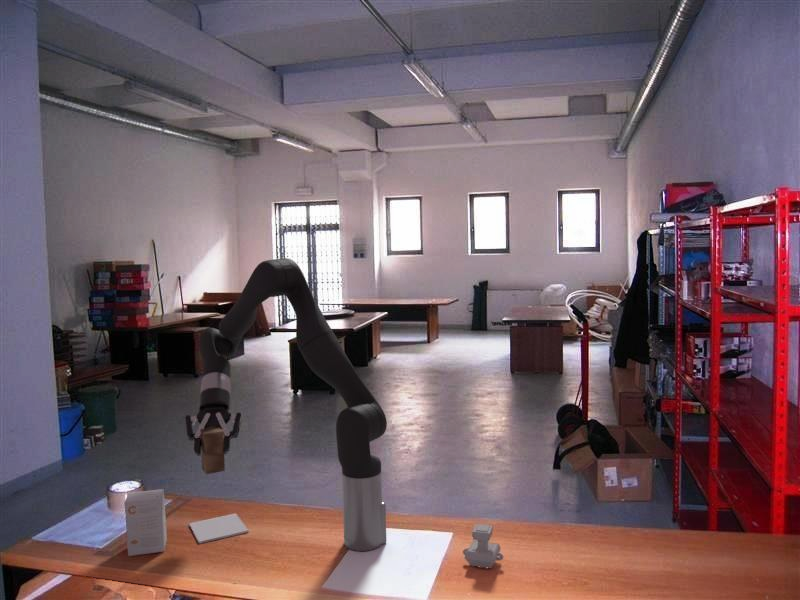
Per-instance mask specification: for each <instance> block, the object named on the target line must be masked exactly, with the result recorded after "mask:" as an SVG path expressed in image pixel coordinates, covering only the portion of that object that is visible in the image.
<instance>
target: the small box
mask: <svg viewBox="0 0 800 600" xmlns="http://www.w3.org/2000/svg"><path fill="white" fill-rule="evenodd" d="M165 504H166V503H165V490H164V488H159V489H151V490H143V491H133V492H128V494H127V496H126V498H125V501H124V514H125V515H124V516H125V528H126V529H125V530H126V533H125V534H126V543H127V544H126V545H127V556H128V557H131V556H132V557H133V556H140V555H141V556H142V555H146V554H147V555H148V554H154V553H162V552H165V549H166V546H167V545H166V544H167V540H168V539H167V522H166V521H167V518H166V505H165Z"/></svg>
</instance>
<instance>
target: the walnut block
mask: <svg viewBox="0 0 800 600" xmlns="http://www.w3.org/2000/svg"><path fill="white" fill-rule="evenodd" d="M200 432H201V454H200V456H201V470H202V471H203V472H204V473H205V475H210V474H216V473H221V472H225V471H226V469H225V465H226V463H225V454H224V452H223V444H224V435H223V431H222V430H221V429H220V428H219V427H214V428H207V429H201V430H200Z"/></svg>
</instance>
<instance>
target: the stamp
mask: <svg viewBox="0 0 800 600" xmlns="http://www.w3.org/2000/svg"><path fill="white" fill-rule="evenodd" d="M493 526H494V525H492V524H482V523H479V524H478V523H475V524H474V526H473V529H472V532H471V533H472V534H471V537H472V539H473V540H472V541H471V543H470V545H469V547H468V548H467V547H466V548H464V549H463V550H462V554H463V556H464V560H465V561H466V562H467V563H468V564H469V565H470V566H471V565H472V566H471V567H475V566H480V567H479V568H482V567H488V568H491V569H492V567H493V566H494V565H495V563H496V562H497V561H502V560H504V555H503V554H502V553H501V552H500V551H501V546H500V543H496V542H489V541H490V540H491V537H492V535H493V531H494V527H493ZM488 568H487V569H488Z"/></svg>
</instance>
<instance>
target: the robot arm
mask: <svg viewBox="0 0 800 600" xmlns="http://www.w3.org/2000/svg"><path fill="white" fill-rule="evenodd" d="M281 296H285V297H286V299H288V301H289V303H290V305H291V307H292V309H293V311H294V315H295V319H296V326H295V329H296V330H295V332H296V333H295V338H296V344H297V348H298V349H299V352H300V354H301V355H302V357H303V359H304V361H305V362H306V364H307V366H308V367H309V368H310V370H311V371H312V372H313V373H314V374H315V375H316V376H317V377H319V378H320V379H321V380H323V381H324V382H325V383H327V384H328V385H329V386H331V387H332V388H333V389H334V390H335V391H337V393H338V394H339V395H340V396H341V398H342V399H343V401H344V402H345V404H346V406H347V407H346V408H344V409H342V410H341V411H340V412H339V414H338V415H337V418H336V424H335V434H336V435H335V436H336V448H337V449H336V450H337V457H338V462H339V464H340V466H341V476H342V477H341V478H342V479H341V480H342V506H343V507H342V509H343V511H342V513H343V519H342V520H343V542H344V546H345V548H347V549H349V550H352V551H357V552H359V551H360V552H365V551H372V550H375V549H377V548H380V547H381V546H382V545H383V544H386V543H387V512H386V511H387V509H386V503H385V502H384V501H383V490H382V487H383V485H382V484H383V483H382V461H381V458H379V457H377V456H376V455H372V454H371V447H370V446H371V444H370V443H371V442H373V441H375V440H377V439H379V438H381V437H382V436H383V435H385V433H386V431H387V426H388V422H387V417H386V414H385V412H384V410H383V409H382V406H381V405H380V404H379V402H378V401H377V399H376V397H375V396H374V395H373V394H372V392H371V391H370V390H369V388H368V387H367V385H366V384H365V383H364V382H363V380H362V378H361V377H360V376H359V374H358V372H357V370H356V369H355V367H354V366H353V364H352V362H351V360H350V358H349V357H348V356H347V354H346V352H345V350H344V349H343V347H342V344H341V343H340V341H339V339H338V338H337V336H336V334H335V333H334V331H333V329H332V328H331V326H330V324H329V323H328V321H327V320H326V318H325V316H324V314H323V312H322V310H321V308H320V307H319V305H318V303H317V301H316V299H315V297H314V295H313V293H312V291H311V288H310V286H309V284H308V282H307V280H306V278H305V275H304V273H303V272H302V269H301V267H300V266H299V265H298V263H297V262H296V261H294V260H293V259H291V258H287V257H284V258H276V259H275V258H274V259H268V260H264V261H261V262H259V263H258V264H257V266H256V267H255V268H254V270H253V272H251V275H250V277H249V278H248V280H247V282H246V284H245V286H244V288H243V290H242V292H241V294H240V295H239V297H238V298H237V300H236V302H235V303H234V305H233V306H232V307H231V308H230V310H228V312H227V313H226V314H225V315H224V316H223V318H222V319H221V320H220V321H219V323H218V329H217V328H214V327H207V328H205V329H203V330H202V332H201V333H200V334H199V337H198V351H199V355H200V358H201V361H202V366H203V369H202V380H201V384H200V395H199V407H198V409H199V410H198V413H196V415H193V416H191V415H185V427H186V435H187V438H188V440H189V441H194V444H193V451H194V454H196V456H197V457H199V456H201V432H200V430H201V429H207V428H214V427H219V428H220V429H221V430H222V431H223V440H224V444H223V452H224V455H227V454H228V452H230V450H231V440H232V439H237V438H238V437H239V433H240V429H241V425H242V420H243V417H242V414H241V413H242V412H236V413H231V410H230V409H231V393H232V391H231V363H230V361H229V360H228V359H229V358H232V357H233V356H235V354H236V353H237V351H238V348H239V345H240V342H241V339H242V338H243V336H244V335H245V334H246V333H247V332H248V330H249V329H250V328H251V327H252V326H253V325H254V323H255V321H256V319H257V314H258V307H259V306H261V304H262V303H264V302H265V301H266V300H268V299H269V298H276V297H281ZM231 419H232V422H233V426H232V430H231V431H230V430H229V428H228V426H227V425H228V423H229V422H230V420H231ZM196 422H198V423H199V425H198V429H197V430H196V432H195V433H194V429H193V426H195V424H196Z"/></svg>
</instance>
